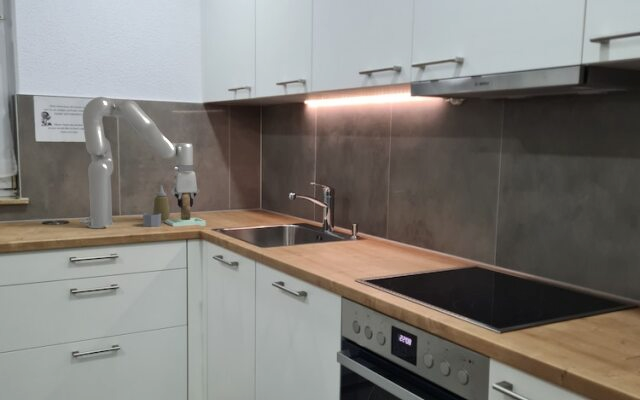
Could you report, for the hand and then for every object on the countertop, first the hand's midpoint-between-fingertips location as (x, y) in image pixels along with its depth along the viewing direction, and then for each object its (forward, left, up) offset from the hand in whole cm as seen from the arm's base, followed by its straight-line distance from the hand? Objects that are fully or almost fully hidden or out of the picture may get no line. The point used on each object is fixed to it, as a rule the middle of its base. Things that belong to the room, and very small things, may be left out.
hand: (185, 206), depth 279 cm
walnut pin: (0, 0, -6) cm, 6 cm away
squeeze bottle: (-6, +19, -9) cm, 22 cm away
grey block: (-16, 0, -9) cm, 19 cm away
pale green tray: (0, 0, -9) cm, 9 cm away
